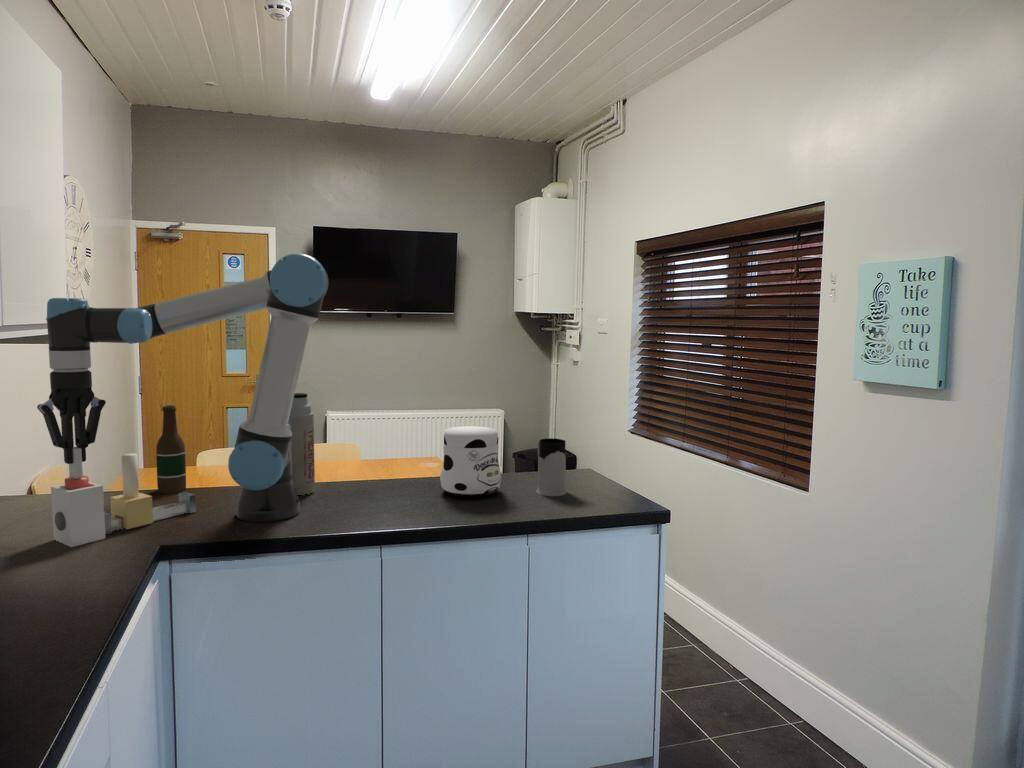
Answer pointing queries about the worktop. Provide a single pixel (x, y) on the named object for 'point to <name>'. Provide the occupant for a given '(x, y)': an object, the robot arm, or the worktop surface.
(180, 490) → the beer bottle
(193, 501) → the rail
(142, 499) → the carriage
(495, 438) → the milk container
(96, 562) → the worktop surface
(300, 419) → the thermos bottle
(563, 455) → the glass holder
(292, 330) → the robot arm
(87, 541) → the white button housing
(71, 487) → the gauge button
